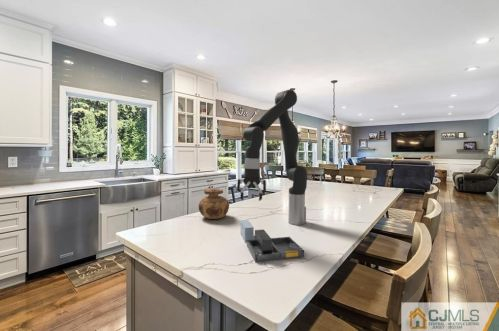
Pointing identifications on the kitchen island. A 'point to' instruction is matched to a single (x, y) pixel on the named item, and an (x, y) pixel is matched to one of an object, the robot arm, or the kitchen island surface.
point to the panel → (247, 230)
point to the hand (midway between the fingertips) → (251, 200)
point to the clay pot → (213, 204)
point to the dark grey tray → (273, 247)
